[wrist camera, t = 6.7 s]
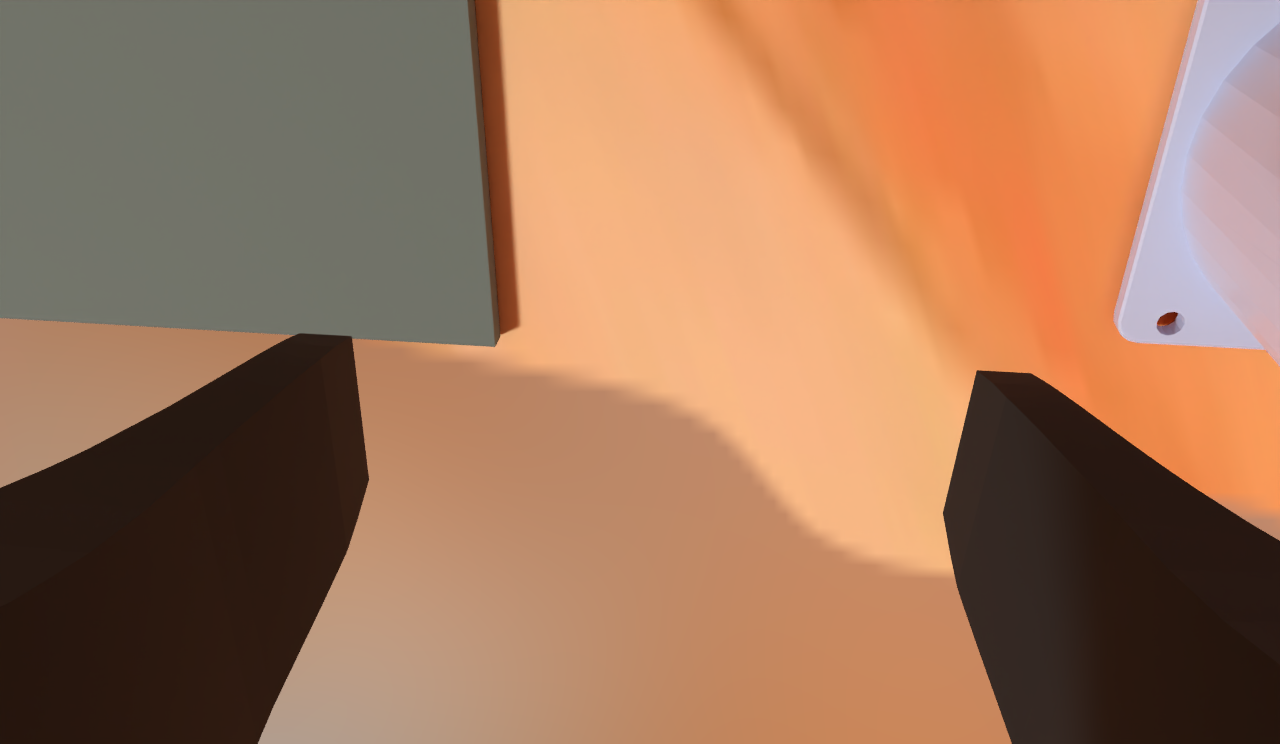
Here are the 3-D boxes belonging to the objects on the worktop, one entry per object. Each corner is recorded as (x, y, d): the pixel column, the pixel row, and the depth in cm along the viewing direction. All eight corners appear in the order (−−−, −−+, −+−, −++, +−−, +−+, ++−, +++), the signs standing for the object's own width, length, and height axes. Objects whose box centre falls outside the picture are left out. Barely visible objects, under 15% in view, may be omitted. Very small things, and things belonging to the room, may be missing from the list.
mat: (440, -448, 16) (430, -454, 16) (500, 335, 23) (495, 346, 23) (-361, -433, 17) (-389, -437, 17) (-71, 303, 24) (-86, 313, 24)
